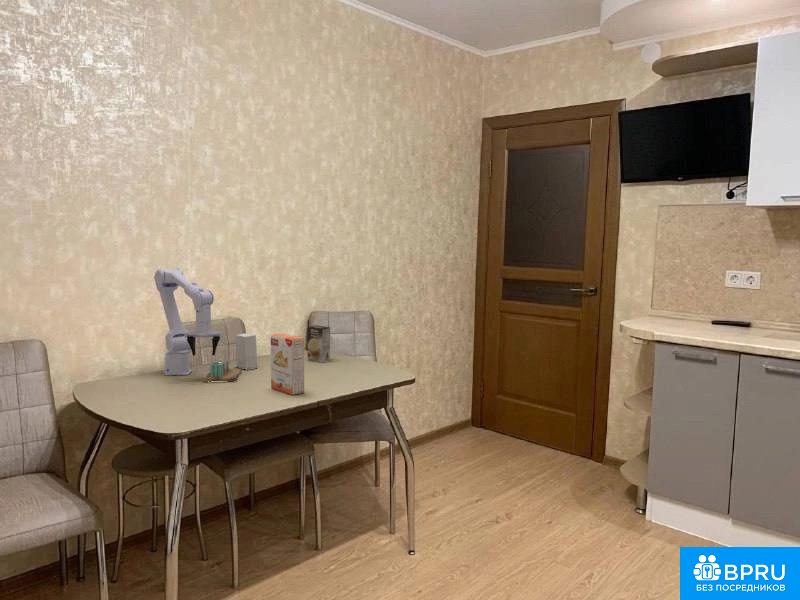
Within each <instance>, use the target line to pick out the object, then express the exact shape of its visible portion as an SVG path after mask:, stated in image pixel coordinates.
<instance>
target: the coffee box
mask: <svg viewBox="0 0 800 600" xmlns="http://www.w3.org/2000/svg"><path fill="white" fill-rule="evenodd" d="M306 339H307V346H306V347H307V349H306V350H307V353H306V355H307V356H306V357H307V358H306V360H307V361H308V362H315V363H321V364H323V363H326V362H330V360H331V358H330V355H331V353H330V352H331V327H330V326H323V325H316V324H313V325H309V326H307V338H306Z"/></svg>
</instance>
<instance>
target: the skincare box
mask: <svg viewBox="0 0 800 600" xmlns="http://www.w3.org/2000/svg"><path fill="white" fill-rule="evenodd" d="M235 350H236V352H235V353H236V368H237V367H239V368H238V369H241V368H242V370H244V369H245V371H248V370H256V369H255V368H257V369H258V354H257V353H258V352H257V334H251V333H239V334H235Z"/></svg>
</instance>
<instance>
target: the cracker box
mask: <svg viewBox="0 0 800 600" xmlns="http://www.w3.org/2000/svg"><path fill="white" fill-rule="evenodd" d="M270 388H271V389H273V390H276V391H279V392H282V393H285V394H287V395H290V396H295V395H299V394H304V393H305V338H303V337H300V336H295V335H291V334H287V333H275V334H270Z"/></svg>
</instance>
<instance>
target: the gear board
mask: <svg viewBox="0 0 800 600" xmlns="http://www.w3.org/2000/svg"><path fill="white" fill-rule="evenodd" d="M242 370H243V369H241V368H229V371H226V372H223V373H224V375H223V376H222V377H210V372H209V373H208V374H207V375H206V376H205V377H204V378H203V379H204V383H212V382H211V381H232V382H231V383H234V382H233V381H236V380H237V381H238V379H239V378H238V377H240V376H241V374H242V373H243V371H242ZM241 372H242V373H241ZM240 373H241V374H240ZM239 375H240V376H239ZM237 378H238V379H237ZM208 381H209V382H208ZM237 381H236V382H237Z"/></svg>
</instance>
